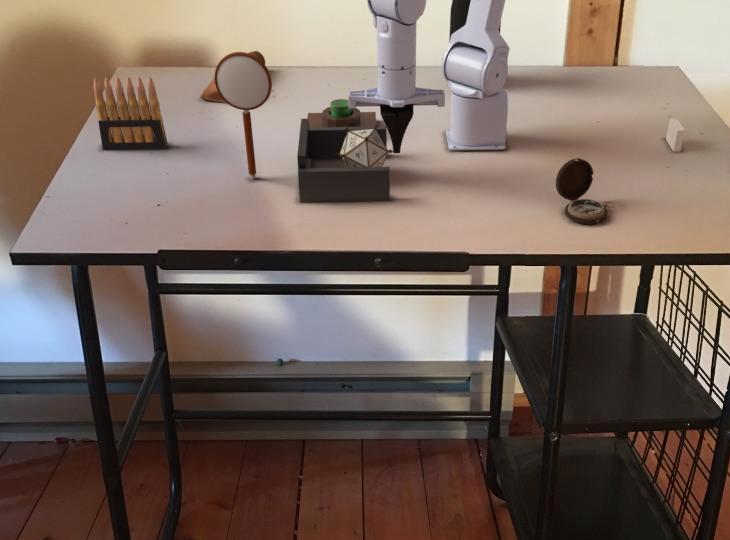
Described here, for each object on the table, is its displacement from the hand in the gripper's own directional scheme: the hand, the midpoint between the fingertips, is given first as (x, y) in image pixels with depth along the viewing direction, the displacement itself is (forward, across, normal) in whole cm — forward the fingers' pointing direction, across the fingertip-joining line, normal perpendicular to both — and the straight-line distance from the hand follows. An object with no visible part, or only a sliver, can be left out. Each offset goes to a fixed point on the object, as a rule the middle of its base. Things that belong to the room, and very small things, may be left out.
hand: (396, 150), depth 146 cm
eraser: (+5, +47, +10) cm, 48 cm away
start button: (+1, -9, +18) cm, 20 cm away
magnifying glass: (+5, -23, 0) cm, 23 cm away
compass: (+5, +28, -13) cm, 31 cm away
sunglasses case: (+5, -30, +41) cm, 51 cm away
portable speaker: (+5, +16, +40) cm, 43 cm away
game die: (+5, -5, 0) cm, 7 cm away
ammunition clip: (+5, -44, +13) cm, 46 cm away
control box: (+4, -9, +18) cm, 21 cm away
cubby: (+4, -8, 0) cm, 9 cm away
